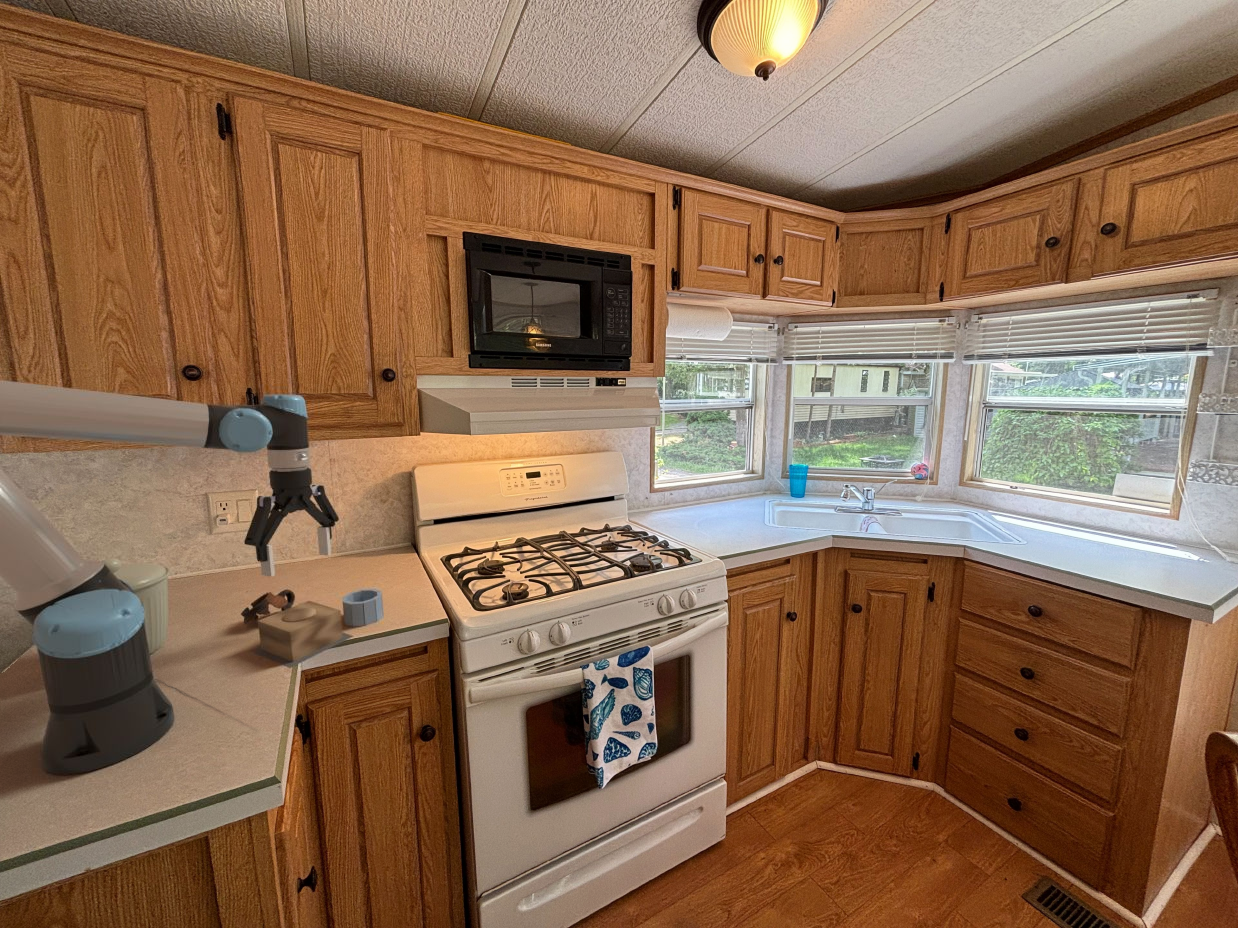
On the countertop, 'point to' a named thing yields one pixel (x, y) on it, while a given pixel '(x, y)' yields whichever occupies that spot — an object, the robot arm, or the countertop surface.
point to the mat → (291, 664)
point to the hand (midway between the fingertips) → (298, 564)
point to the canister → (147, 595)
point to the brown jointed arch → (263, 603)
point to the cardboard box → (300, 630)
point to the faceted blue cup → (362, 607)
